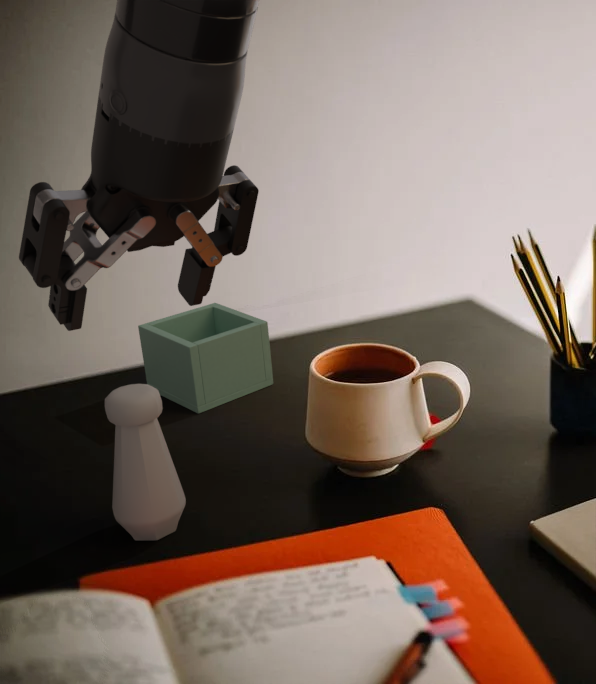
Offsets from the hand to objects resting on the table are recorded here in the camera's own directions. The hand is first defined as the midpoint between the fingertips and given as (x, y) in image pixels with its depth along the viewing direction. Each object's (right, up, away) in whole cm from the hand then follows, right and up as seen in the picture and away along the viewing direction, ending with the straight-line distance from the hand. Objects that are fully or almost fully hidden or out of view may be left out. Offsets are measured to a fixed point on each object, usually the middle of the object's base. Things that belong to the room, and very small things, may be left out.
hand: (130, 309), depth 62 cm
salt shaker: (-5, -18, +16) cm, 25 cm away
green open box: (-9, -7, +42) cm, 44 cm away
